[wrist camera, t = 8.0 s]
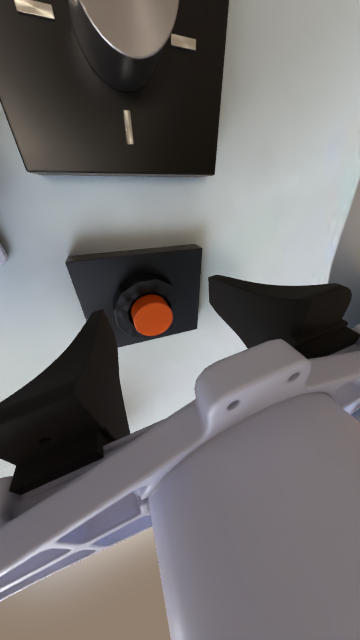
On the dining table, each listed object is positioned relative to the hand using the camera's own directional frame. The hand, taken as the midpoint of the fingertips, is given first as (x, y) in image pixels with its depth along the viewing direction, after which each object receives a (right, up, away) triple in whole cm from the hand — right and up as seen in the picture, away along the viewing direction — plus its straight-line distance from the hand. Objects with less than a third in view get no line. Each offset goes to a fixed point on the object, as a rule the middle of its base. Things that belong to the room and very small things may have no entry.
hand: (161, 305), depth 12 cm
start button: (-2, 0, +6) cm, 6 cm away
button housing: (-3, +2, +8) cm, 9 cm away
